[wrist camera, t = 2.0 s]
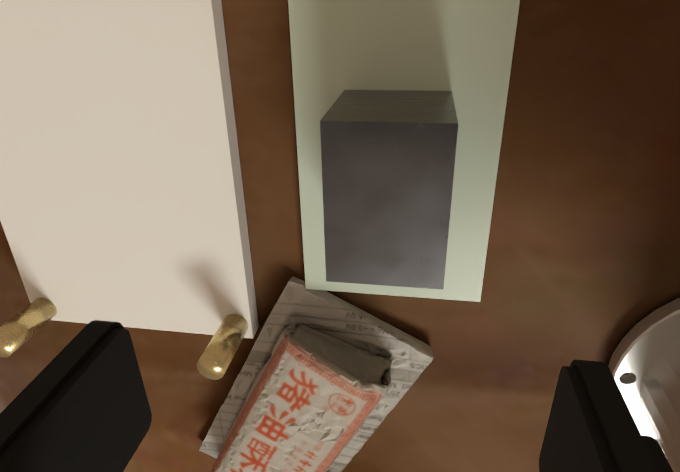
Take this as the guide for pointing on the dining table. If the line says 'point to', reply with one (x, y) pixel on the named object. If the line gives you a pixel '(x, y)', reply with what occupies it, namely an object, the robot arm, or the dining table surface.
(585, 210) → the dining table surface
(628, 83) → the dining table surface
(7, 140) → the chassis
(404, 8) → the board
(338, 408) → the packaged product
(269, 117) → the dining table surface
